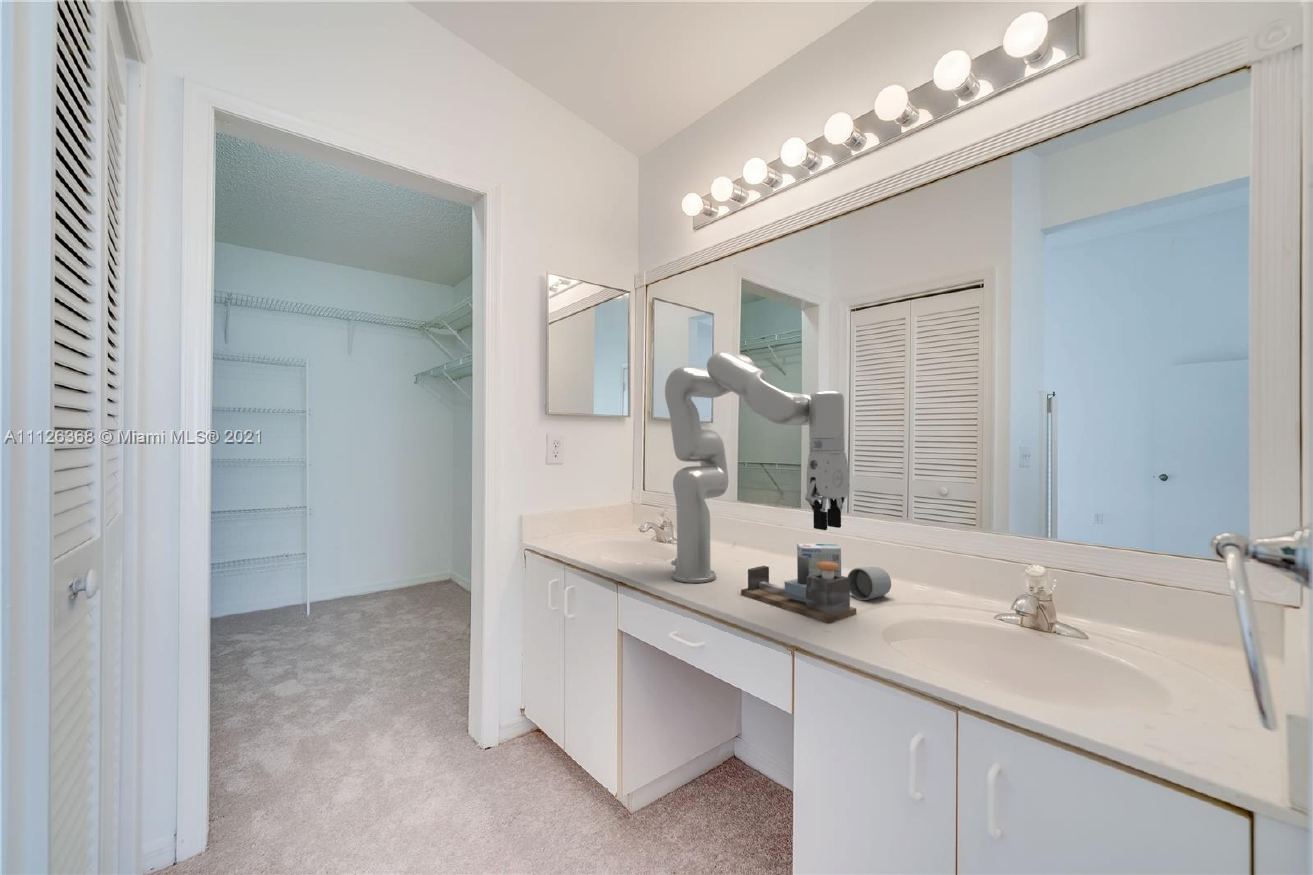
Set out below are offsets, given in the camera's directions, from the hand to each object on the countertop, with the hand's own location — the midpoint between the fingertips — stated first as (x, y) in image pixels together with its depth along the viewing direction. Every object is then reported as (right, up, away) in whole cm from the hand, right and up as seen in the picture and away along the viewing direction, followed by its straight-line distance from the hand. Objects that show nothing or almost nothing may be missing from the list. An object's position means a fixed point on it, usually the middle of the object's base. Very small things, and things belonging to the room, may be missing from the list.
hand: (827, 527), depth 114 cm
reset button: (0, -13, 0) cm, 13 cm away
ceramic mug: (+14, -20, +13) cm, 27 cm away
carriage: (-4, -17, +5) cm, 19 cm away
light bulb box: (+5, -20, +23) cm, 31 cm away
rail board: (-5, -19, +7) cm, 21 cm away
